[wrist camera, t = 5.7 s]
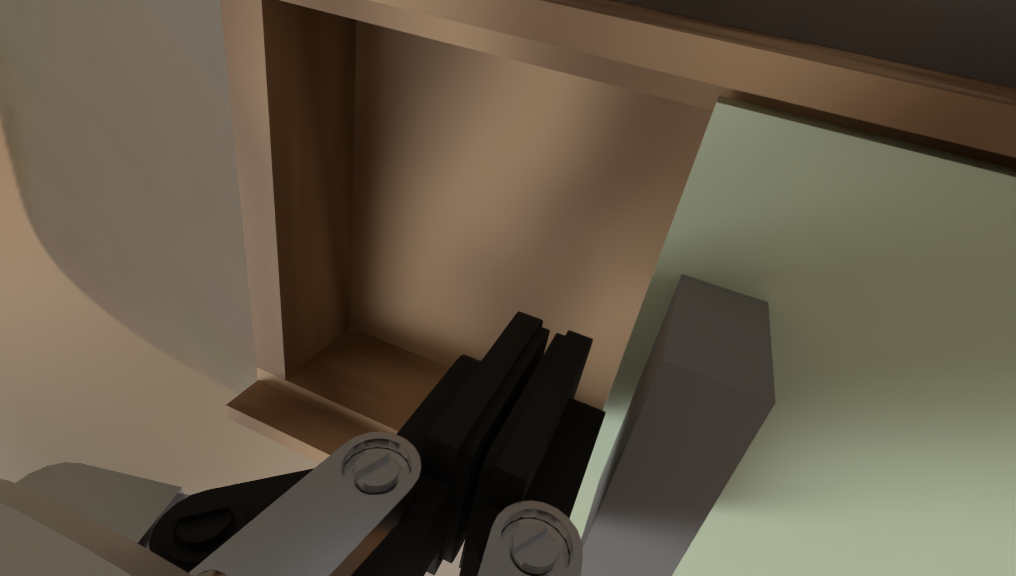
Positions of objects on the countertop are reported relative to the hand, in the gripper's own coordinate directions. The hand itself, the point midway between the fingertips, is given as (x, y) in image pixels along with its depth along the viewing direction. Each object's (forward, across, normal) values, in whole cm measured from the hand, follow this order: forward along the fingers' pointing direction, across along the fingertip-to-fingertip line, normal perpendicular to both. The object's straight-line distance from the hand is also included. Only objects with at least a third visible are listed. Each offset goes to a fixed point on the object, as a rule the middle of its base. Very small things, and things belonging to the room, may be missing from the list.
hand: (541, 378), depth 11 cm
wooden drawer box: (+6, +1, 0) cm, 6 cm away
